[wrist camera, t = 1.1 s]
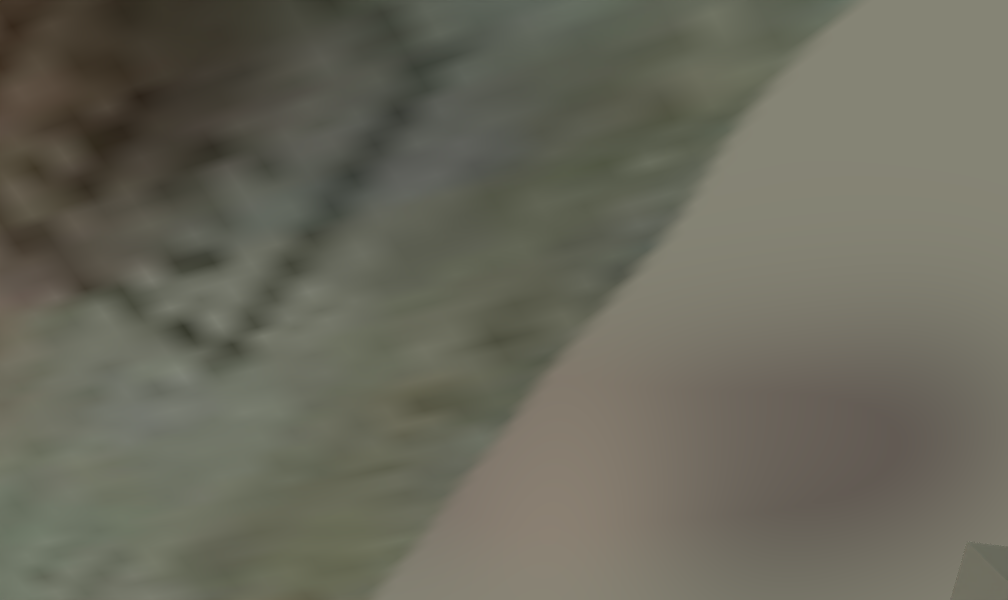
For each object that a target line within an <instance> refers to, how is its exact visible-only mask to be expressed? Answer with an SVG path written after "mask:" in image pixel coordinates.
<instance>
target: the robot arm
mask: <svg viewBox="0 0 1008 600" xmlns="http://www.w3.org/2000/svg"><path fill="white" fill-rule="evenodd" d="M951 600H1008V547H1007V546H999V545H990V544H982V543H975V542H967V544H966V547H965V551H964V554H963V558H962V561H961V565H960V568H959V572H958V575H957V579H956V582H955V586H954V589H953V593H952V596H951Z"/></svg>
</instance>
